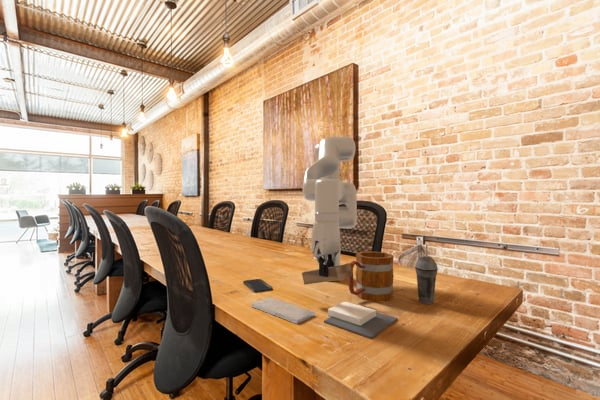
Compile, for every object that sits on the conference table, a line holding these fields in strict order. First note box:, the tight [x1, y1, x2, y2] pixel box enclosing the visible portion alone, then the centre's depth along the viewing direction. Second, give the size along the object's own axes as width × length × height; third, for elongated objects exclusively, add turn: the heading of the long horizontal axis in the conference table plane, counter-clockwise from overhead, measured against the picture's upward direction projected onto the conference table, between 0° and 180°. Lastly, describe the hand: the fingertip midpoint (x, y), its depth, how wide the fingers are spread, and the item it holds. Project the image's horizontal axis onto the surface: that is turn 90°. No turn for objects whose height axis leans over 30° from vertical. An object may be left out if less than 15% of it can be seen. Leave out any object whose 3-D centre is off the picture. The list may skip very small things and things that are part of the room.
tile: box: [327, 301, 377, 326], centre depth 89 cm, size 9×2×11 cm
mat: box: [323, 311, 399, 340], centre depth 87 cm, size 16×15×1 cm
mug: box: [348, 251, 395, 303], centre depth 107 cm, size 20×14×15 cm
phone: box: [243, 278, 274, 294], centre depth 120 cm, size 8×1×15 cm
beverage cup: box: [414, 243, 439, 305], centre depth 103 cm, size 7×7×20 cm
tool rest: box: [251, 296, 316, 325], centre depth 94 cm, size 8×20×1 cm, turn 48°
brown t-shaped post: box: [301, 262, 354, 285], centre depth 96 cm, size 6×17×4 cm, turn 48°
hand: (326, 274), depth 96 cm, fingers closed on brown t-shaped post, 2 cm apart
